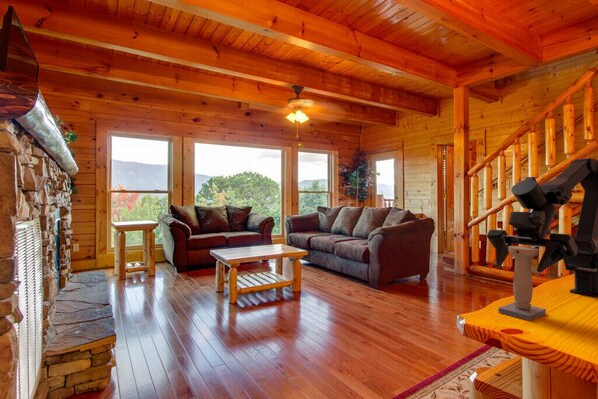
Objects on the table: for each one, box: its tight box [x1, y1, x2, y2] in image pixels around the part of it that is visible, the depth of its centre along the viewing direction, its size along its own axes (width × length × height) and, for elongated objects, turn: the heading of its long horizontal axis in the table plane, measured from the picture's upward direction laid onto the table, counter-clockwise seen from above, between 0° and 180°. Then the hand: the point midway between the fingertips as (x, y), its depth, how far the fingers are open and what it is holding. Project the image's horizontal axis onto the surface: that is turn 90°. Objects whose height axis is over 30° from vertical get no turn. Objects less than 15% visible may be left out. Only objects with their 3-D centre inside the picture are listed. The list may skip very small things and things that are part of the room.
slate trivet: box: [497, 302, 547, 322], centre depth 81 cm, size 8×7×1 cm
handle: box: [508, 245, 540, 310], centre depth 81 cm, size 5×6×15 cm
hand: (517, 268), depth 81 cm, fingers open, 9 cm apart
